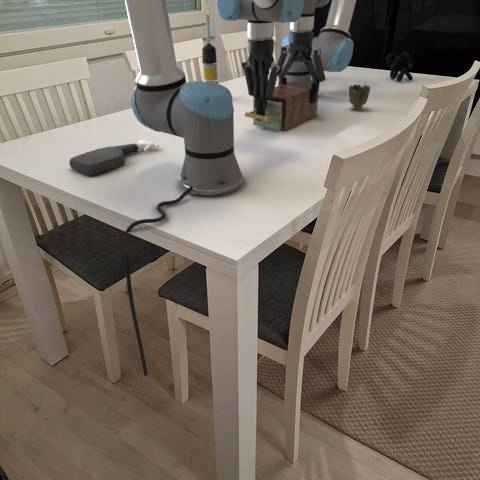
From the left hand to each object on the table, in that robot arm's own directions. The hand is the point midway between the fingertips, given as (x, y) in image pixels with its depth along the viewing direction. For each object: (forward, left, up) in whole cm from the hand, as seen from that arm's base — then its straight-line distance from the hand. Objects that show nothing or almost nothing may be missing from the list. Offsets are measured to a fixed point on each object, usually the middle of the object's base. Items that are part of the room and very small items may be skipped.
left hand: (260, 119), depth 141 cm
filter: (+34, +31, -4) cm, 46 cm away
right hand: (+21, -7, +1) cm, 22 cm away
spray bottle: (-34, +31, -4) cm, 46 cm away
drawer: (+9, -3, -3) cm, 10 cm away
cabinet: (+15, -5, -4) cm, 16 cm away
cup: (+34, -26, -4) cm, 43 cm away
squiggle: (+87, -38, -4) cm, 95 cm away
